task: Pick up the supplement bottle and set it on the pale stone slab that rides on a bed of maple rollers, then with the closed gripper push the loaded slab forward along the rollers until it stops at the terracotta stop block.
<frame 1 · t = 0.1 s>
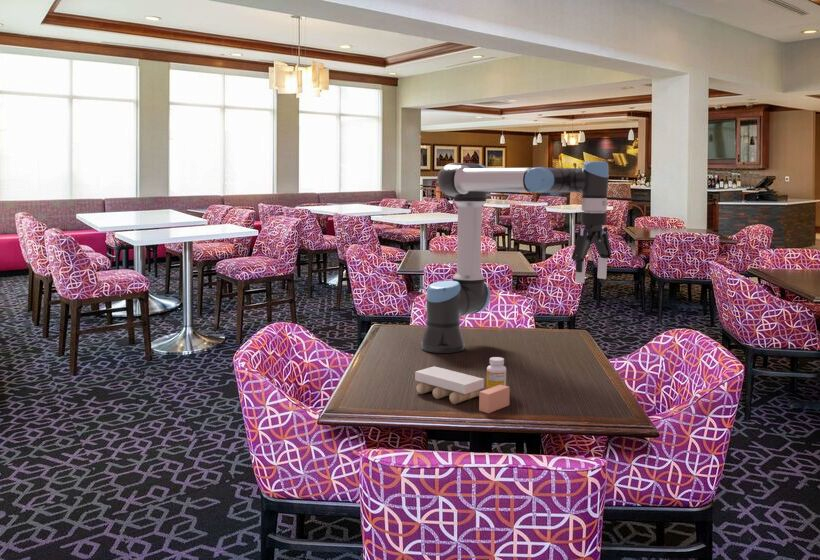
hand: (591, 280, 213), 28 cm above the table, fingers open, 13 cm apart
slab: (448, 379, 187), point 4 cm above the table, slide at 0.0 cm
roller bed: (448, 394, 188), on the table
stop block: (494, 407, 177), on the table
supplement bottle: (496, 393, 191), on the table
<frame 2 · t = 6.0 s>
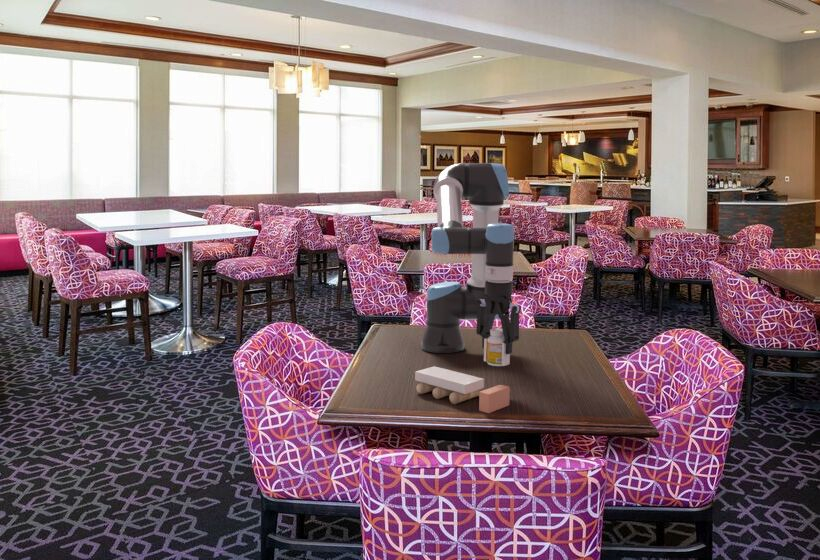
hand: (496, 362, 190), 8 cm above the table, fingers closed on supplement bottle, 5 cm apart
supplement bottle: (496, 364, 190), point 8 cm above the table, touching gripper
everything else where it was.
when the fingers open (6 cm above the table, at t = 9.5 s): supplement bottle stays where it is, resting on slab.
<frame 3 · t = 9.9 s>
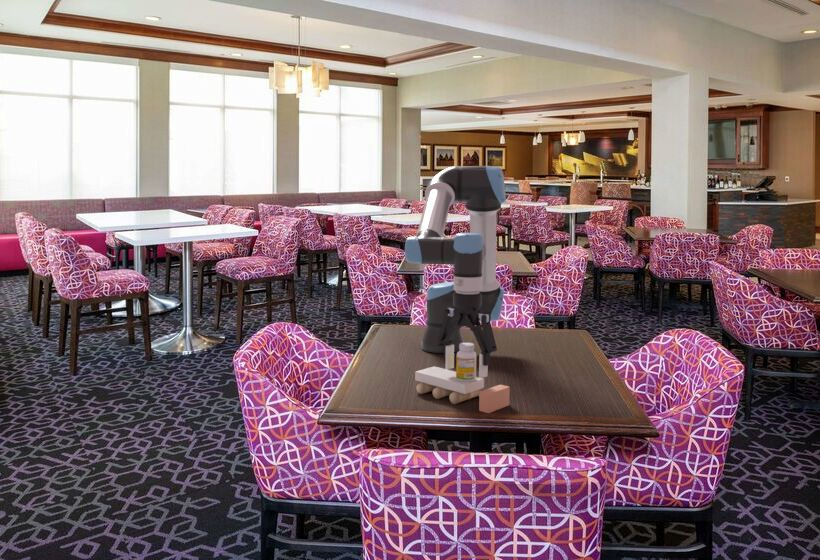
hand: (466, 372, 183), 7 cm above the table, fingers open, 11 cm apart
slab: (448, 379, 187), point 4 cm above the table, slide at 0.0 cm, touching supplement bottle
supplement bottle: (466, 380, 183), point 5 cm above the table, touching slab
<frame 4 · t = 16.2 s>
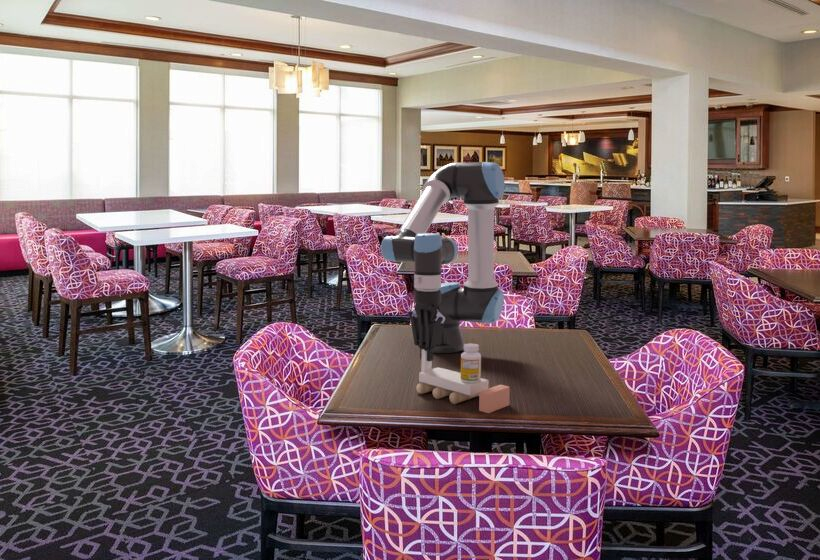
hand: (426, 371, 193), 5 cm above the table, fingers closed
slab: (453, 380, 186), point 4 cm above the table, slide at 1.6 cm, touching supplement bottle, gripper
supplement bottle: (470, 381, 182), point 5 cm above the table, touching slab
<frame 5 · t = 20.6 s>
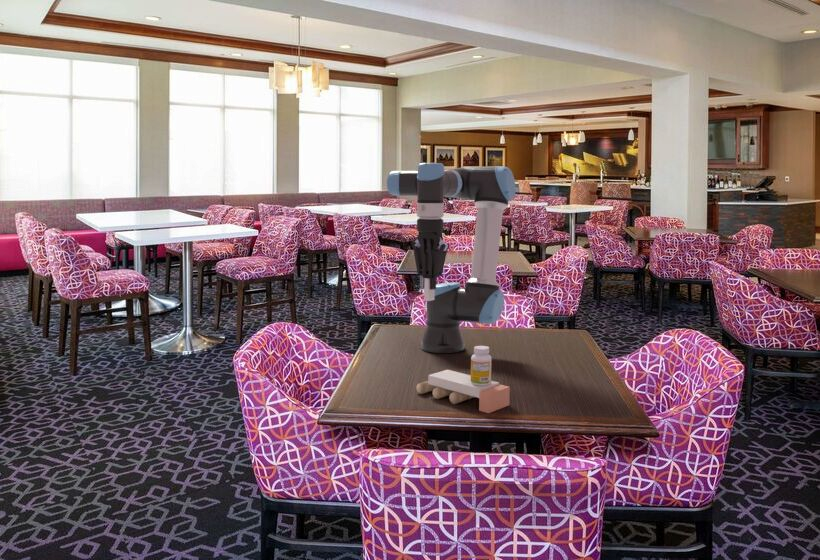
hand: (429, 300, 196), 24 cm above the table, fingers closed
slab: (463, 383, 184), point 4 cm above the table, slide at 5.0 cm, touching supplement bottle
supplement bottle: (480, 383, 180), point 5 cm above the table, touching slab
at the end: slab slide at 5.0 cm; supplement bottle 5.9 cm from the slab (horizontally); supplement bottle tilted 0° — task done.
